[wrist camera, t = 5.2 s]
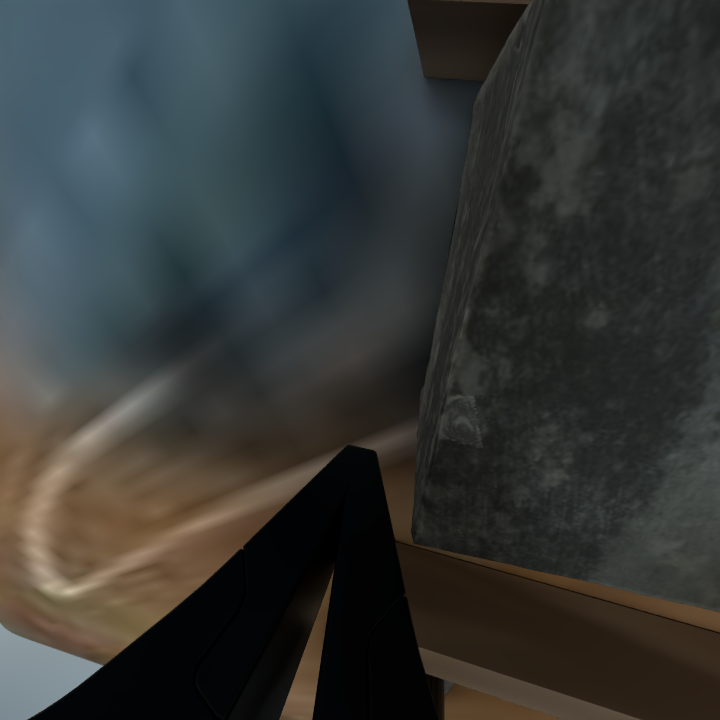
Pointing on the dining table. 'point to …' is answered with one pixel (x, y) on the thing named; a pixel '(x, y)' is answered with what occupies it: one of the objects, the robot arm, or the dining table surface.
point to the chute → (526, 597)
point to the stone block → (585, 307)
